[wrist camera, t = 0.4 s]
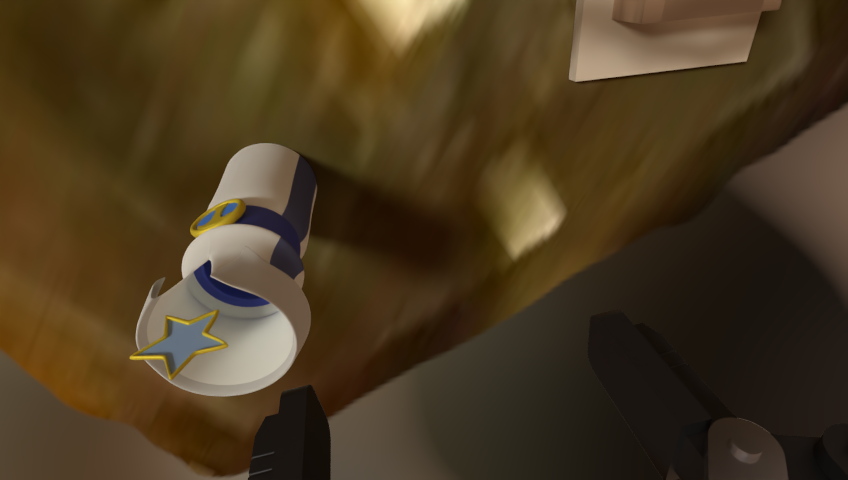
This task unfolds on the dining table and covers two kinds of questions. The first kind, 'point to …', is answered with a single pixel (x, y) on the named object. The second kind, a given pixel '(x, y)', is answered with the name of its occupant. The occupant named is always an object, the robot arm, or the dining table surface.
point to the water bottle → (237, 282)
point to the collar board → (661, 35)
